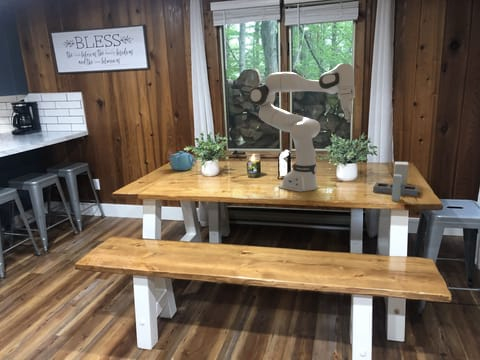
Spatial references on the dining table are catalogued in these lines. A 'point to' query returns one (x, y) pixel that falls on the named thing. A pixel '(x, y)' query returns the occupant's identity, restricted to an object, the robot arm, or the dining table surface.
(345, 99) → the robot arm
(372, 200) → the dining table surface
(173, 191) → the dining table surface
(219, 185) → the dining table surface
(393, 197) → the clip
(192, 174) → the dining table surface
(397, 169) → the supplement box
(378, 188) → the compartment tray
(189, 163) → the decorative pot
